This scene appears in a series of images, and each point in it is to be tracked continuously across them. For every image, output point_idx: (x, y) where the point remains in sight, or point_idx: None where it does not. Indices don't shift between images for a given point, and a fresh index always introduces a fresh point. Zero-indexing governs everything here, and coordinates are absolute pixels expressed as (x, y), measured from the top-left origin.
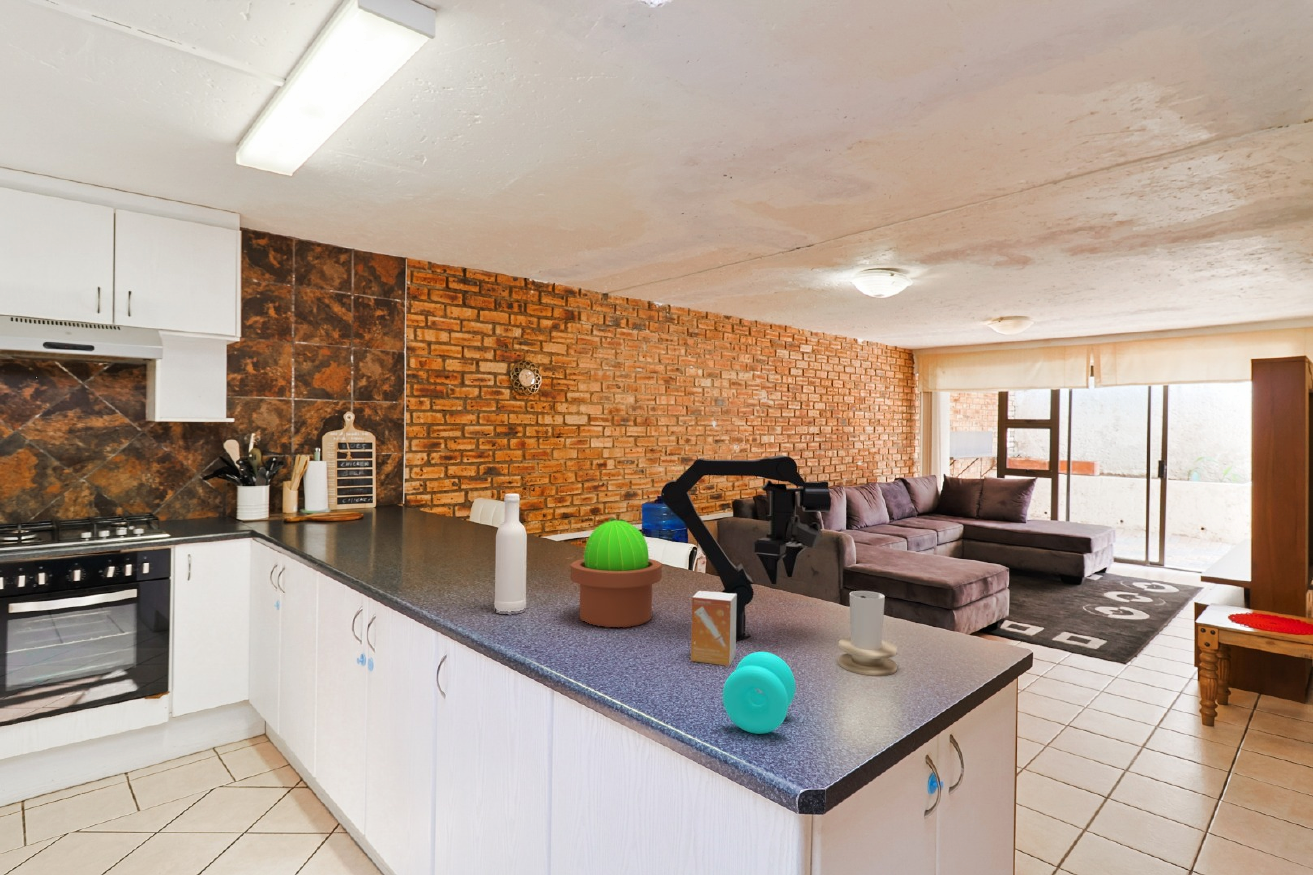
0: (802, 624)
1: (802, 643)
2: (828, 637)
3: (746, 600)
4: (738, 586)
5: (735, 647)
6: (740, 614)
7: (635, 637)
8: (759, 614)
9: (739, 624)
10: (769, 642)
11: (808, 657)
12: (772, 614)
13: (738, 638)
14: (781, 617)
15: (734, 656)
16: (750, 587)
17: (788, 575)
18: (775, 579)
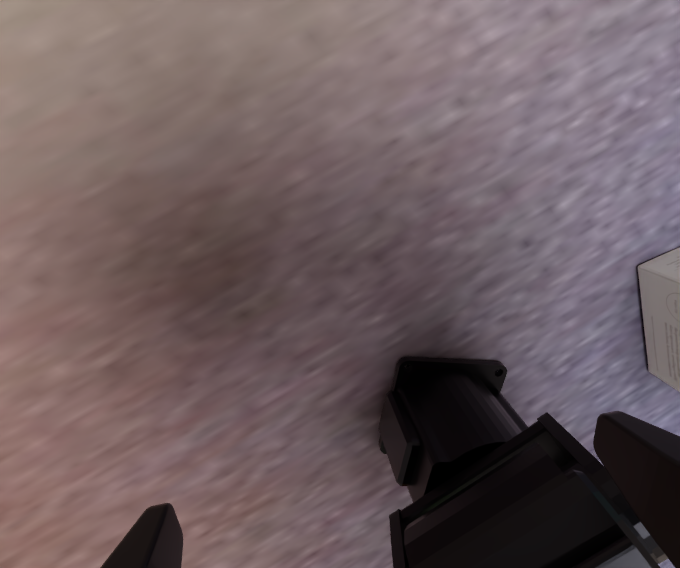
0: (33, 311)
1: (325, 151)
2: (122, 91)
3: (586, 451)
4: (662, 561)
5: (672, 273)
6: (497, 431)
7: None
8: (78, 509)
9: (481, 400)
10: (410, 268)
11: (504, 19)
12: (21, 481)
13: (471, 363)
14: (25, 434)
15: (661, 258)
16: (618, 517)
17: (176, 543)
18: (675, 443)
